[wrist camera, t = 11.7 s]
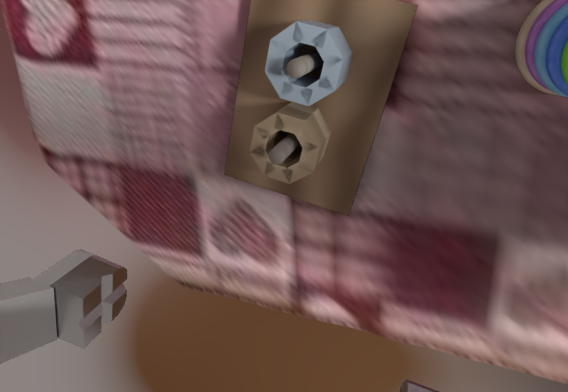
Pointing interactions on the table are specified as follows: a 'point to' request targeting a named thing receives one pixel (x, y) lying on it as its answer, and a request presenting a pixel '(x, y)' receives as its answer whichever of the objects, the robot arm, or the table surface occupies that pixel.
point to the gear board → (322, 114)
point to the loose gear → (289, 47)
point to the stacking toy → (545, 47)
